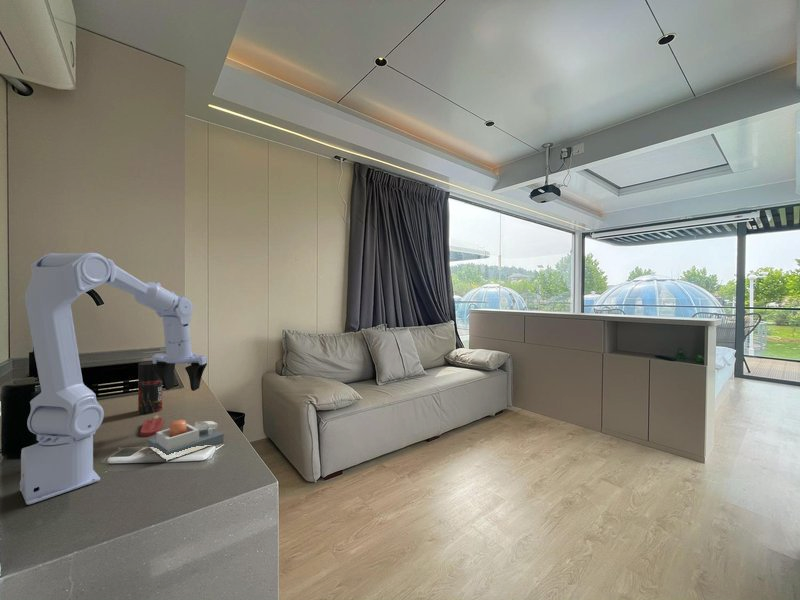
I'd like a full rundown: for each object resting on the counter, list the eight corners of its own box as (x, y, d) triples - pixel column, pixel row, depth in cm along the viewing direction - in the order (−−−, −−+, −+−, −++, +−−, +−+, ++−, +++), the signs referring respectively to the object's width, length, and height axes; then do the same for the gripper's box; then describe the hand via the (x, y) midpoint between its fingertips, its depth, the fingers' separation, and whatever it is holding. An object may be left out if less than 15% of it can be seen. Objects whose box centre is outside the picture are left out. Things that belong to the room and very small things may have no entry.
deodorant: (159, 412, 101) (158, 363, 101) (135, 415, 99) (135, 365, 98) (164, 406, 106) (164, 360, 106) (142, 408, 104) (142, 361, 104)
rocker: (200, 430, 79) (201, 424, 79) (193, 426, 81) (195, 421, 81) (217, 429, 82) (218, 423, 82) (210, 425, 84) (211, 420, 85)
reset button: (172, 439, 74) (172, 426, 74) (167, 435, 76) (167, 423, 76) (188, 434, 77) (188, 421, 77) (182, 431, 79) (182, 418, 79)
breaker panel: (166, 461, 71) (166, 441, 71) (148, 447, 78) (148, 428, 77) (223, 442, 81) (223, 423, 81) (202, 431, 87) (202, 414, 87)
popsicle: (166, 411, 98) (160, 429, 85) (166, 417, 98) (160, 436, 85) (147, 413, 96) (138, 433, 83) (147, 419, 96) (138, 440, 83)
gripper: (213, 337, 92) (216, 384, 93) (165, 336, 93) (170, 382, 95) (194, 343, 85) (199, 394, 86) (143, 342, 86) (149, 392, 88)
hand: (182, 388), depth 90 cm, fingers open, 7 cm apart
